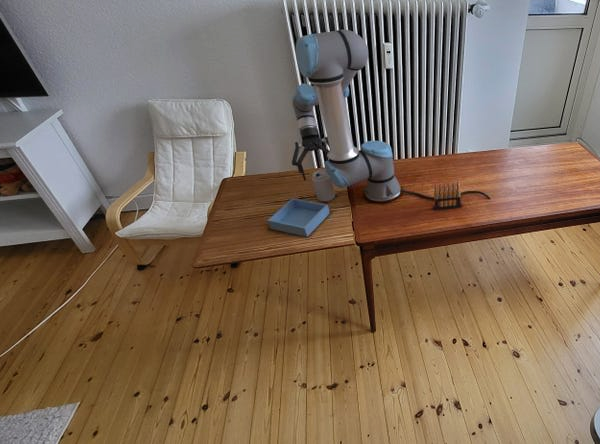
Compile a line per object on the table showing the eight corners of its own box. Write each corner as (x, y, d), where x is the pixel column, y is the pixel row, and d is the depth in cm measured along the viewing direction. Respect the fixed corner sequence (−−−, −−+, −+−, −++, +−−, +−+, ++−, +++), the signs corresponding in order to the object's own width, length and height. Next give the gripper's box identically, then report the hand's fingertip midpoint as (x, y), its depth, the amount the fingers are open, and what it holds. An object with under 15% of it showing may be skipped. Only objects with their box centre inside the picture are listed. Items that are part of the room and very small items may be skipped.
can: (319, 193, 162) (312, 169, 155) (336, 192, 163) (331, 168, 155) (316, 203, 156) (309, 178, 149) (334, 202, 157) (328, 177, 149)
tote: (330, 212, 151) (327, 204, 148) (307, 236, 139) (304, 228, 137) (295, 206, 155) (292, 198, 152) (270, 228, 143) (267, 220, 141)
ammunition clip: (460, 204, 153) (460, 179, 146) (460, 207, 152) (461, 182, 144) (434, 207, 152) (433, 182, 145) (435, 209, 151) (433, 184, 143)
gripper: (338, 128, 169) (350, 172, 167) (280, 138, 162) (292, 184, 160) (337, 121, 162) (350, 167, 160) (276, 131, 154) (289, 180, 153)
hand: (321, 176), depth 160 cm, fingers open, 13 cm apart
